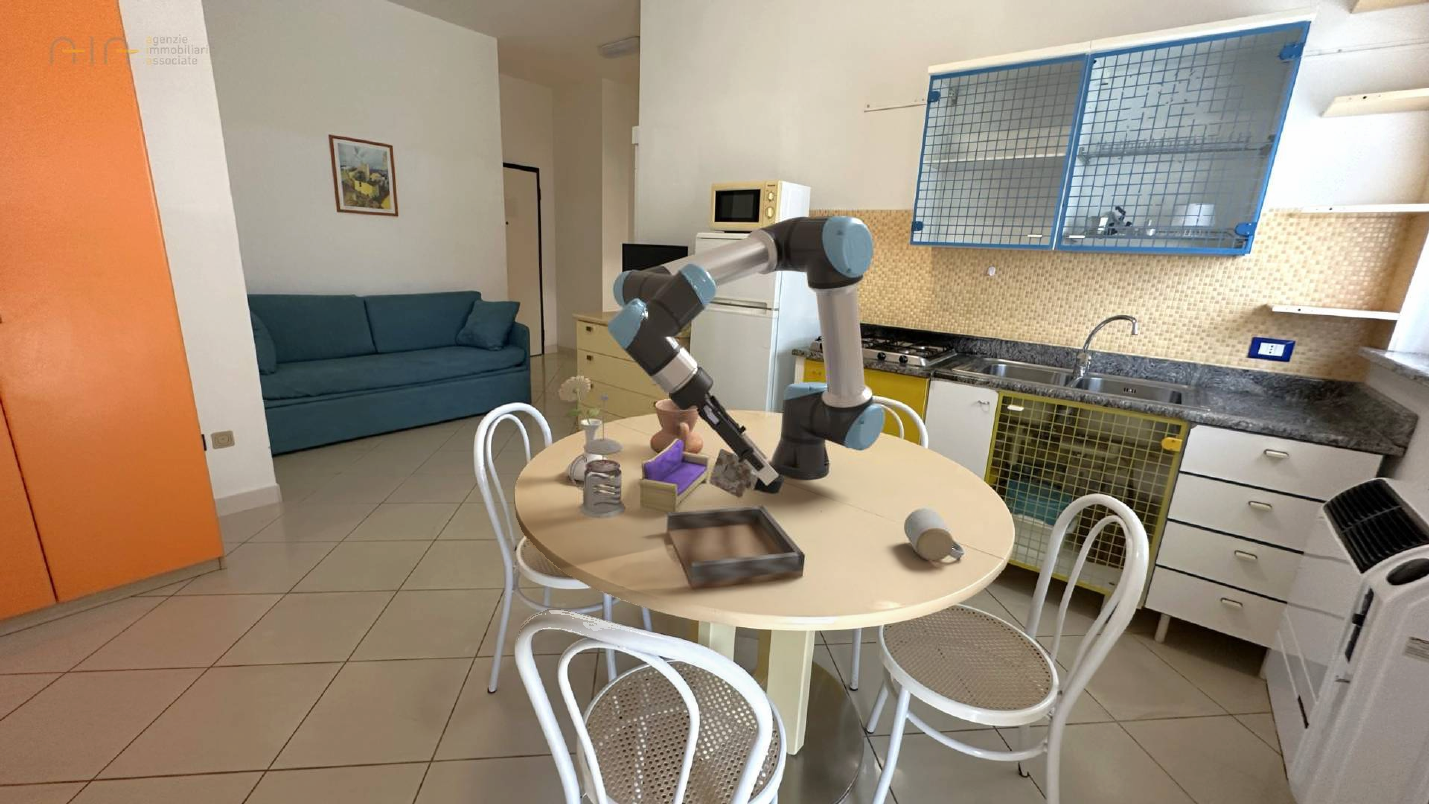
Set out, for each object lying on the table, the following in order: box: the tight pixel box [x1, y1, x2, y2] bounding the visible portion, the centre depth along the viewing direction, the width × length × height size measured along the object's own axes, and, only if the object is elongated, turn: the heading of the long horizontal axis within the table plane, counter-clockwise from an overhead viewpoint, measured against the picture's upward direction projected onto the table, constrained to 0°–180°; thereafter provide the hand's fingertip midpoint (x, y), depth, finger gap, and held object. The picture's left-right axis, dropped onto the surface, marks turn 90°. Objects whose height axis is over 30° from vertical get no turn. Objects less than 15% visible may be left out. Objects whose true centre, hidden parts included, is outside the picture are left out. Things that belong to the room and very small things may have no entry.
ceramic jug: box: [649, 398, 704, 455], centre depth 155 cm, size 18×14×14 cm
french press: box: [569, 393, 627, 519], centre depth 118 cm, size 10×12×25 cm
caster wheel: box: [708, 448, 785, 499], centre depth 103 cm, size 7×11×10 cm
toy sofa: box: [638, 439, 711, 514], centre depth 130 cm, size 21×9×10 cm, turn 160°
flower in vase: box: [557, 375, 611, 482], centre depth 134 cm, size 13×11×25 cm
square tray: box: [666, 505, 806, 590], centre depth 106 cm, size 20×20×4 cm
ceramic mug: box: [903, 508, 965, 562], centre depth 110 cm, size 11×8×8 cm
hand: (766, 470), depth 103 cm, fingers closed on caster wheel, 8 cm apart
